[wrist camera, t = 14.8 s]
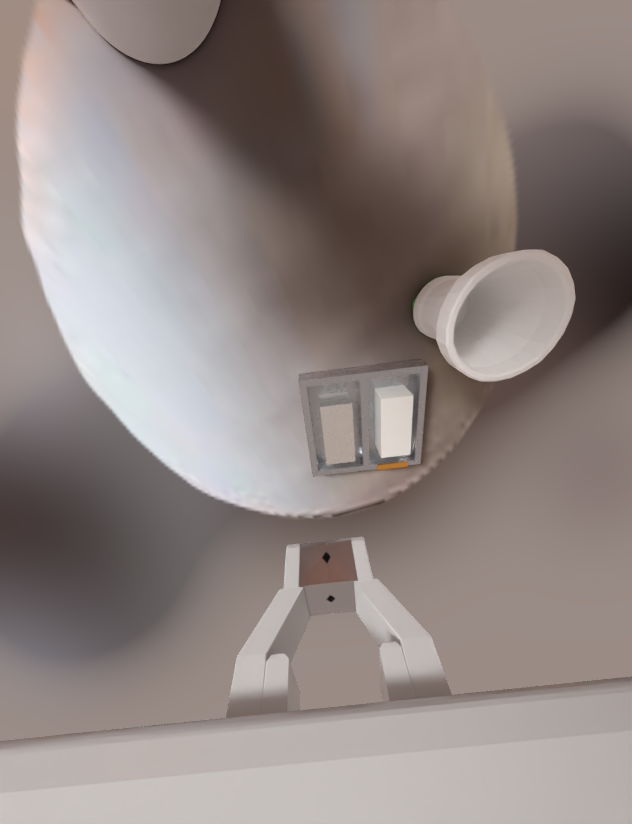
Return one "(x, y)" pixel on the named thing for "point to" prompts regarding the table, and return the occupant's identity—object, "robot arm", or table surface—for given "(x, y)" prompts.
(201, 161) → the table surface
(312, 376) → the tray
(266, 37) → the table surface
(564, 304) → the cup
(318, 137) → the table surface
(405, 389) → the white rectangular block
